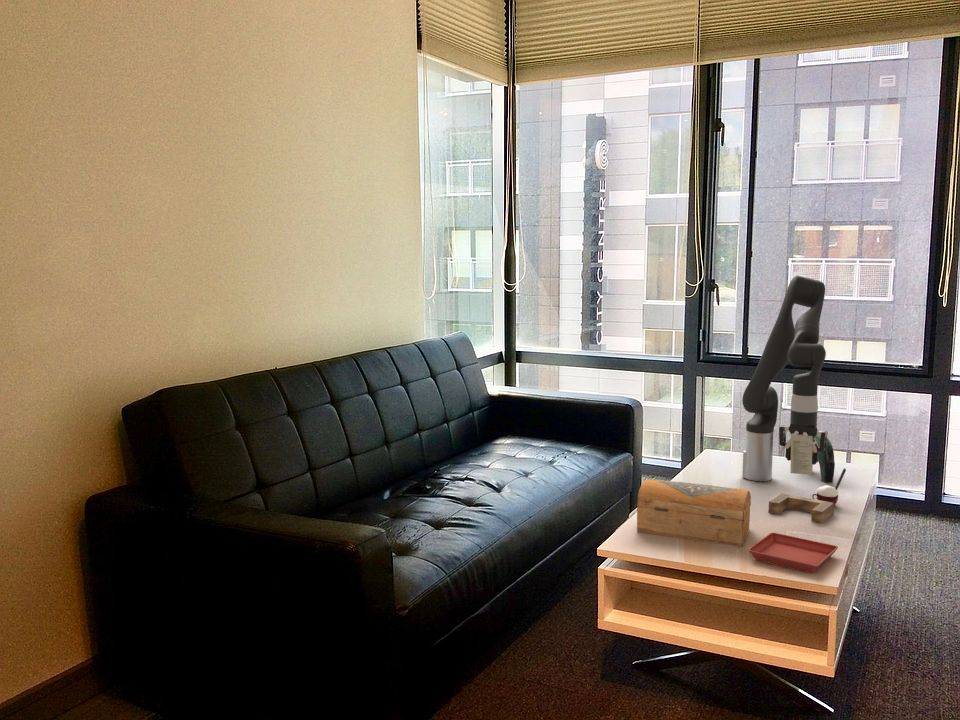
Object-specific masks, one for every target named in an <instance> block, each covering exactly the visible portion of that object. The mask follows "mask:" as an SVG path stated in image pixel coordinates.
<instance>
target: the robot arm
mask: <svg viewBox="0 0 960 720" xmlns="http://www.w3.org/2000/svg"><path fill="white" fill-rule="evenodd" d="M825 296H826V285H825V283H824V282H822V281H820V280H818V279H814V278H811V277H807V276H802V275H798V274H797V275H794V276H793V277H792V278H791V280H790V282H789V284H788V286H787V289H786V292H785V295H784V298H783V300H782V301H783V302H782V304H781V307H780V310H779V313H778V316H777V318H776V320H775V324H773V328H772V330H771V332H770V334H769V337H768V339H767V341H766V344H765V347H764V348H763V349H764V350H763V352H762V354H761V357H760V360H758V361H759V362H758V364H757V367H756V369H755V371H754V372H753V375H752V376H751V379H750V380H749V383H748V384H747V386H746V388H745V389H744V392H743V395H742V400H741V402H742V406H743V409H744V410H745V411H746V412H748V413H750V414H754V415H753V417H751V418H750V419H749V420H748V421H747V422H746V425H745V426H746V428H745V430H746V431H745V450H743V453H742V473H741V474H742V476H741V477H742V478H745V479H747V480H750V481H753V482H768V481H771V480H772V477H773V458H774V457H773V456H774V455H773V454H774V453H773V452H774V432H775V426H776V424H777V419H778V411H779V409H778V408H779V397H778V393H777V390H776V389H775V388H774V387H773V386H771V384H772V382H773V380H775V378H776V377H777V376H778V375H779V374H780V373H781V372H782V371H783V370H784V369H785V367H786V366H788V364H790V365H791V366H793V367H797V368H798V367H800V368H803V367H804V368H811V370H810V371H807V372H805V373H799V374H795V375H794V376H793V379H792V390H791V391H792V392H791V393H792V396H791V399H790V419H789V423H790V424H789V426H786V425H781V426H779V428H778V429H779V430H778V431H779V432H778V435H779V436H778V439H779V440H778V441H779V446H780V447H781V446H782V447H784V449H785V459H786V460H787V461H790V462H791V437H790V438H789V439H788V441H787V433H788V431H789V434H790V435H791V434H795V435H798V434H801V435H804V437H805V438H806V437H807V438H808V439H809V440H808V444H809V446H812V450H813V453H812V464H813V465H814V466H815V465H817V463H819V462H818V461H819V452H823V451H824V450H826V444H827V438H828V431H827V430H823V431H822V430H819V429H818V427H817V426H818V409H819V406H818V405H819V404H818V403H819V400H818V387H819V378H820V374H821V371H822V368H823V365H824V363H825V360H826V356H827V355H826V353H827V352H826V349H825V347H824V345H822V344H820V343H819V340H820V320H821V315H822V312H823V306H824V301H825ZM794 305H798V306H803V307H805V308H809V309H808V310H806V312H804V313H802V314H801V315H800V316H799V317H798V318H797V320H796V322H795V323H794V319H793V307H794ZM794 324H795V325H794ZM817 434H818V435H819V438H820V447H819V446H818V445H817V441H816V440H815V438H814V437H815V436H816V435H817ZM809 436H813V442H812V440H811V439H810V437H809Z"/></svg>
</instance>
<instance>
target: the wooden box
mask: <svg viewBox="0 0 960 720" xmlns="http://www.w3.org/2000/svg"><path fill="white" fill-rule="evenodd" d="M636 504H637V507H636V512H637V513H636V531H637V532H639V533H644V534H650V535H658V536H665V537H671V538H679V539H685V540H687V539H688V540H692V541H693V540H694V541H701V542H707V543H709V542H710V543H714V544H722V545H731V546H735V547H737V546H738V547H744V543H745V542H746V539H747V537H748V534H749V530H750V521H751V519H750V518H751V517H750V516H751V505H752V496H751V491H750V490H747V489H744V488H743V489H742V488H735V487H727V486H726V487H725V486H720V485H719V486H718V485H711V484H704V483H703V484H701V483H694V482H693V483H691V482H683V481H671V480H661V479H649V478H647V479H645V480H643V481H642V483H641V485H640V487H639V490H638V494H637V503H636Z"/></svg>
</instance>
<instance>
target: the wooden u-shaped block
mask: <svg viewBox="0 0 960 720" xmlns="http://www.w3.org/2000/svg"><path fill="white" fill-rule="evenodd" d="M834 506H835V505H834V503H832V502H827V501H821V500H818V499H816V498H814V499H813V498H810V497H804V496H798V495H794V494H788V493H780V494H779V495H777V496H775V497H774V498H772V499H771V500H768V513H769V514H775V515H779V514H781V513H782V512H784V511H786V509H792V510H797V511H800V512H801V511H802V512H805V513H807V512H808V513H811V522H815V523H819V524H822V523H824V522H825V521H826V520H828V519H829V518H830V517H831V516H832V515H833V514H834Z"/></svg>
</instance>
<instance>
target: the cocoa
mask: <svg viewBox="0 0 960 720" xmlns="http://www.w3.org/2000/svg"><path fill="white" fill-rule="evenodd" d="M846 471H847V469H846V468H845V467H844V468H843V469H842V471H841V473H840V476H839V477H838V480H837V483H836V484H835V487H833V486H831V485H828V484H827V485H826V484H825V485H822V486H819V487H817V489H816V492H817V493H813V494H812V495H811V496H812V498H811V499H815V496H816V498H817V499H816V500H821V501H827V502H832V503H834V506H836V504H837V503H838V499H839V493H840V492H839V487H840V484H841V482H842V480H843V478H844V476H845V474H846Z"/></svg>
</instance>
